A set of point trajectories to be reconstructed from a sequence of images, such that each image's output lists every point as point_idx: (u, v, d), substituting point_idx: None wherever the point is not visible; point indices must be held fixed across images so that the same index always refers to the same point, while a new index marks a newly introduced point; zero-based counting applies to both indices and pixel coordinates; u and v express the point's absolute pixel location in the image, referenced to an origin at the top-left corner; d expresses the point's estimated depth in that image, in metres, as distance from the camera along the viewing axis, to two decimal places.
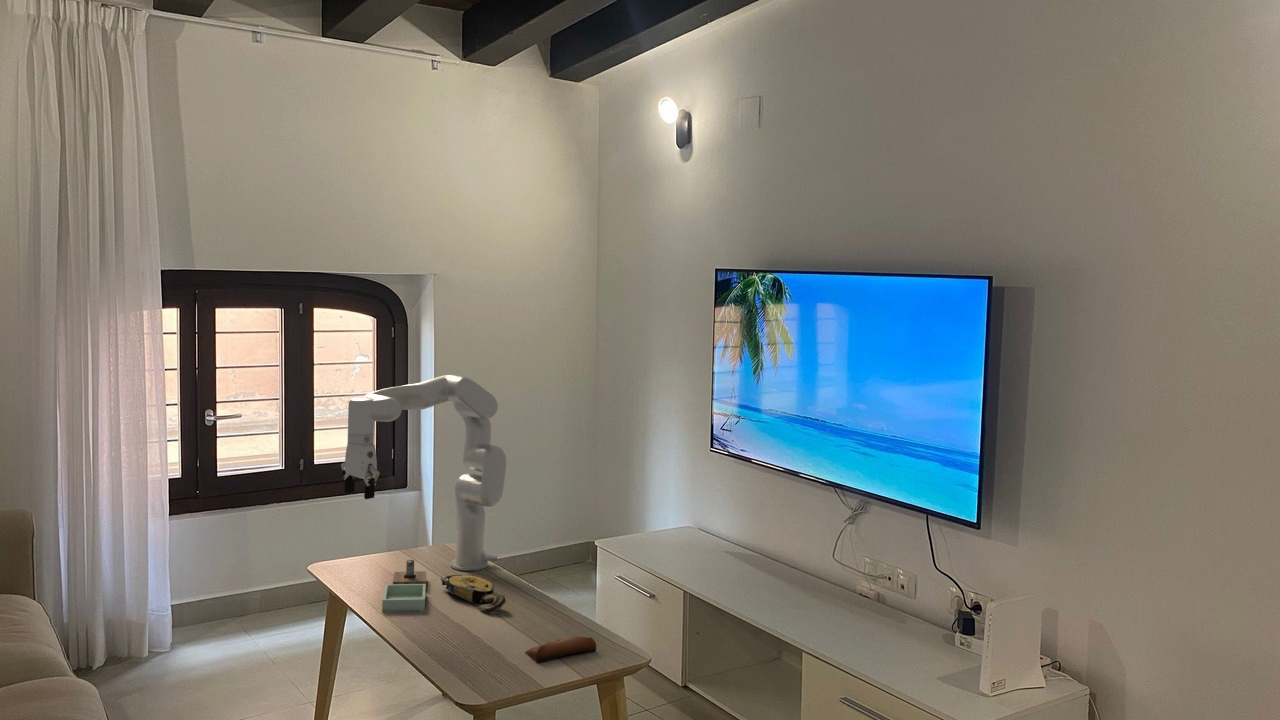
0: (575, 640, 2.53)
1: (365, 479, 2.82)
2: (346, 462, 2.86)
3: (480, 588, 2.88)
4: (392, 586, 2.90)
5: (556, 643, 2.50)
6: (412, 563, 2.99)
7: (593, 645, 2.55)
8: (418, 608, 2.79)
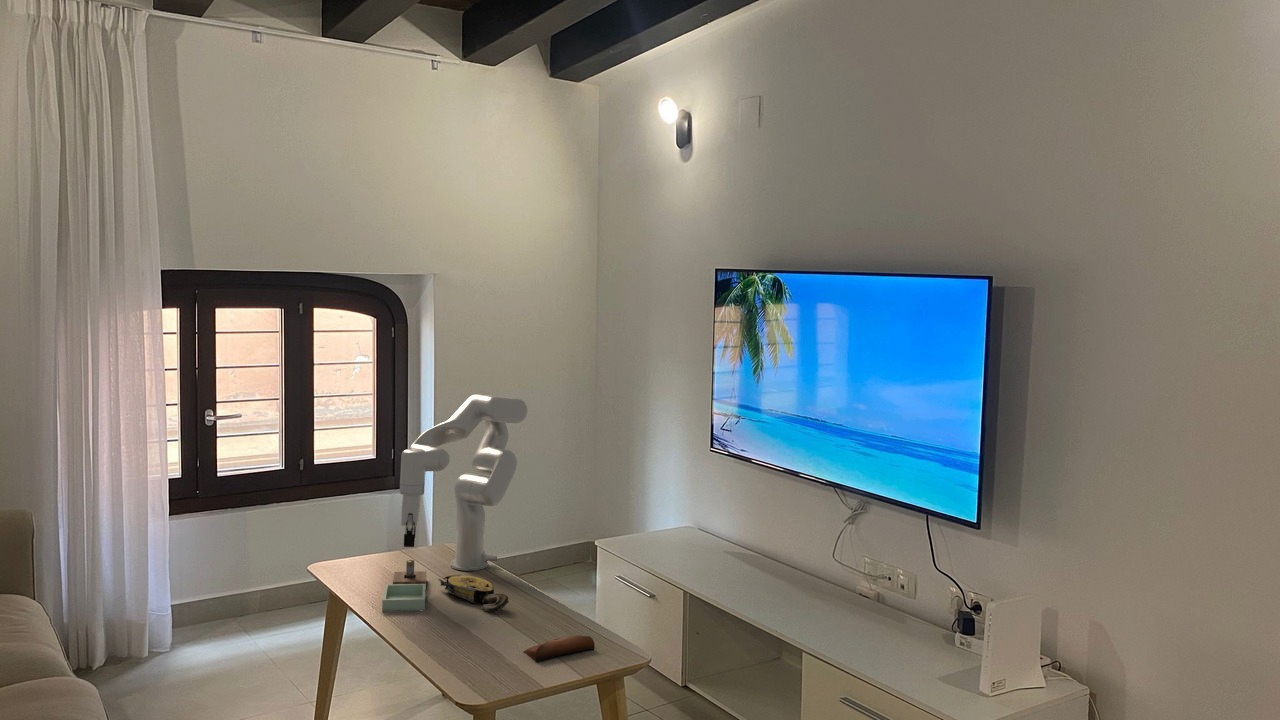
0: (573, 639, 2.54)
1: None
2: (417, 514, 2.95)
3: (481, 588, 2.88)
4: (392, 586, 2.90)
5: (555, 642, 2.51)
6: (412, 563, 2.99)
7: (591, 643, 2.56)
8: (418, 608, 2.79)
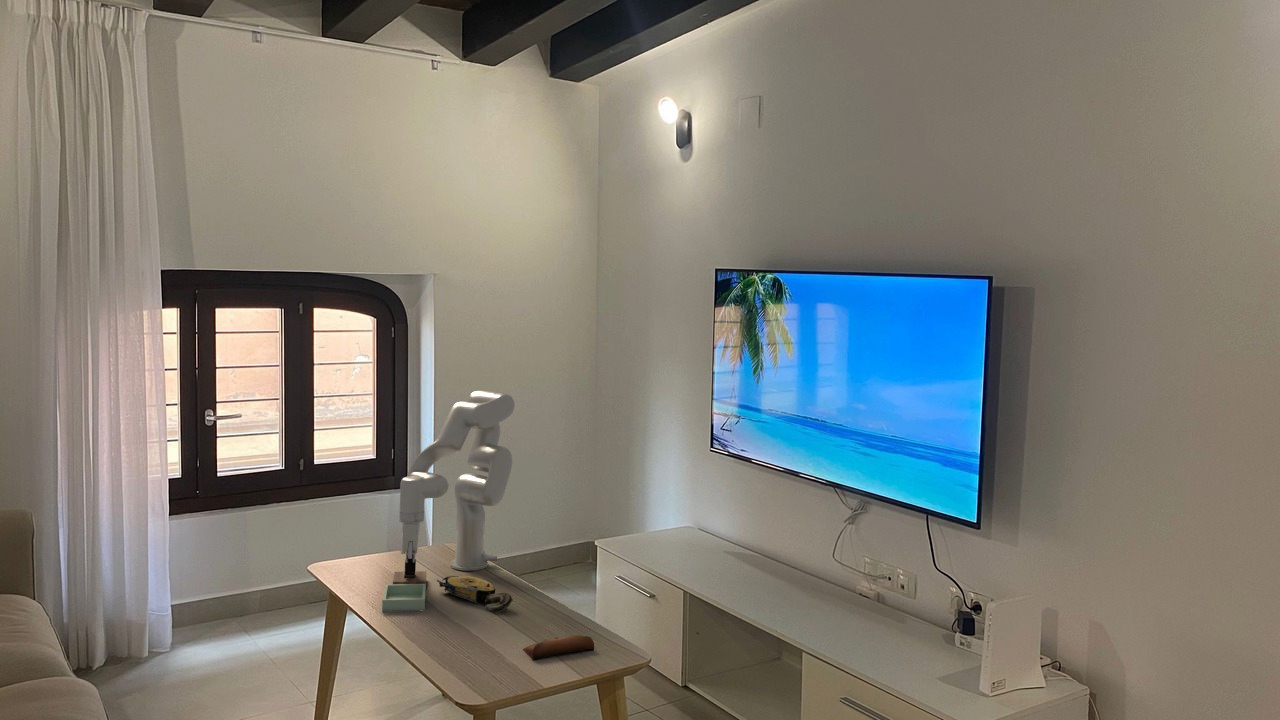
0: (573, 638, 2.54)
1: None
2: (417, 542, 2.96)
3: (483, 588, 2.89)
4: (392, 586, 2.90)
5: (553, 641, 2.52)
6: None
7: (591, 644, 2.55)
8: (418, 608, 2.79)
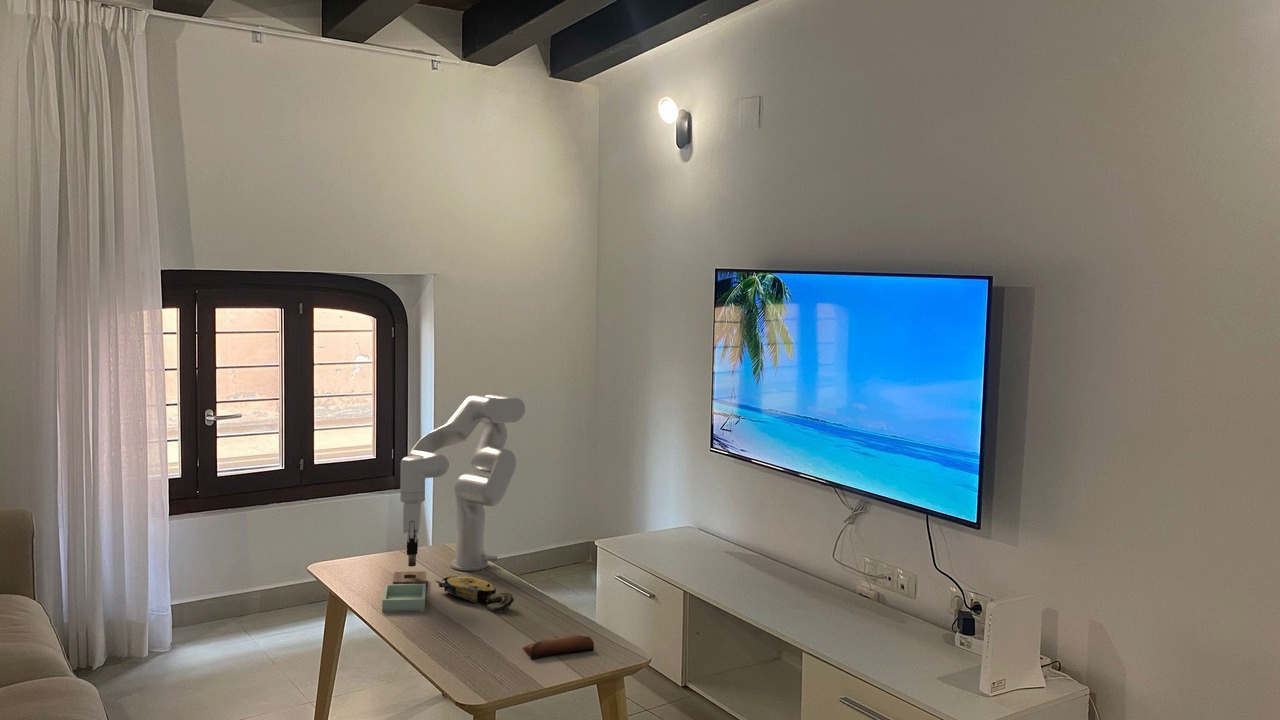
0: (572, 638, 2.54)
1: None
2: (419, 521, 2.96)
3: (484, 588, 2.89)
4: (392, 586, 2.90)
5: (552, 640, 2.52)
6: None
7: (590, 644, 2.55)
8: (418, 608, 2.79)
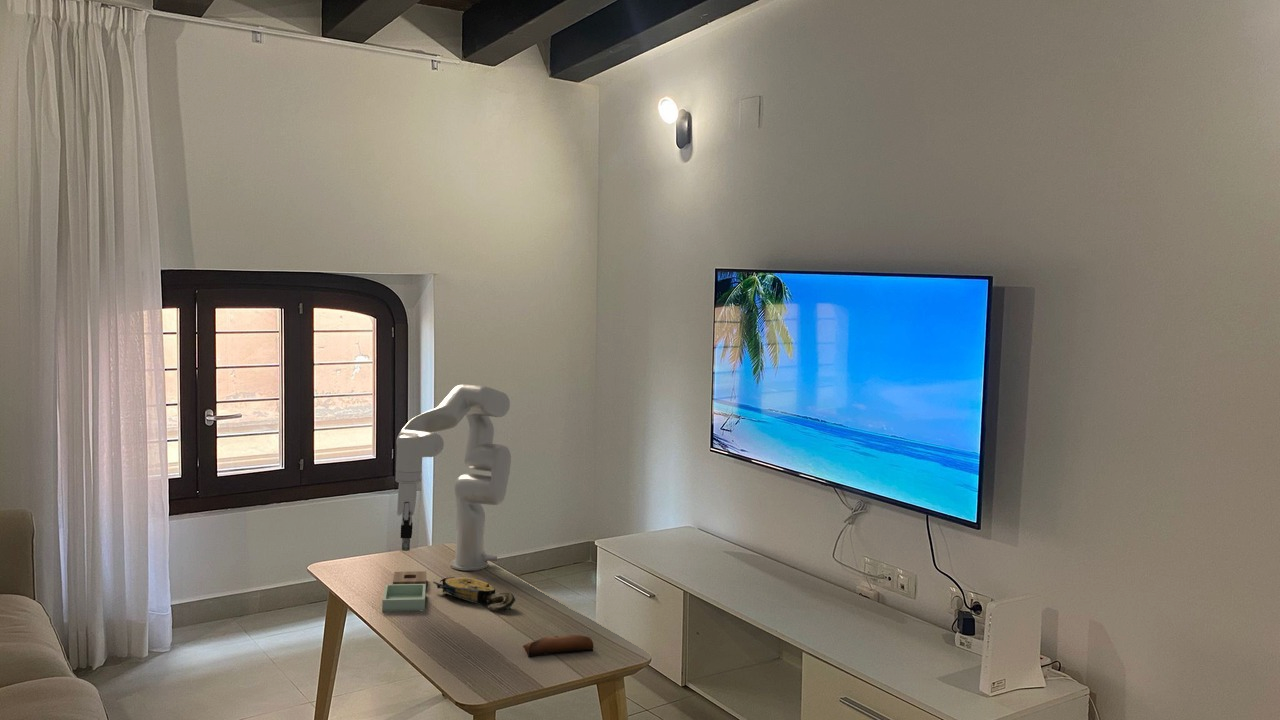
0: (571, 638, 2.55)
1: None
2: (414, 503, 2.82)
3: (483, 588, 2.88)
4: (392, 586, 2.90)
5: (551, 639, 2.53)
6: None
7: (590, 644, 2.55)
8: (418, 608, 2.79)
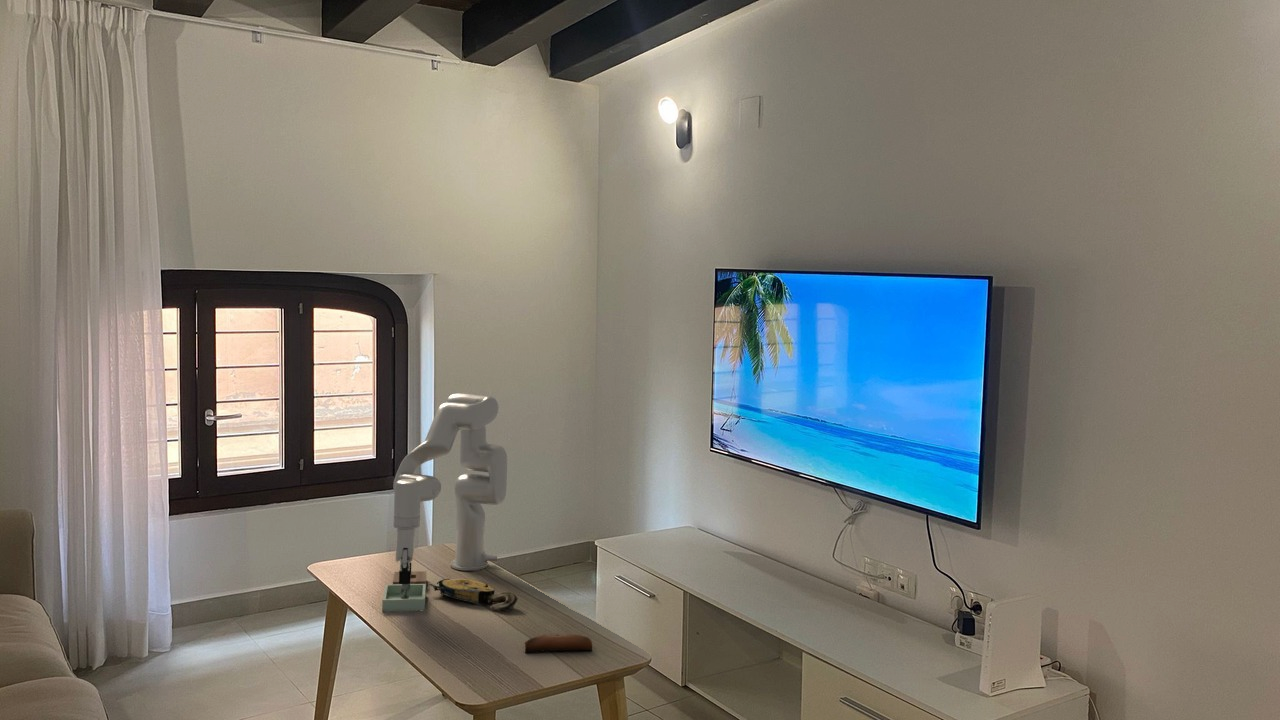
0: (570, 637, 2.55)
1: None
2: (413, 548, 2.80)
3: (483, 588, 2.88)
4: (392, 586, 2.90)
5: (550, 637, 2.54)
6: None
7: (588, 645, 2.54)
8: (418, 608, 2.79)
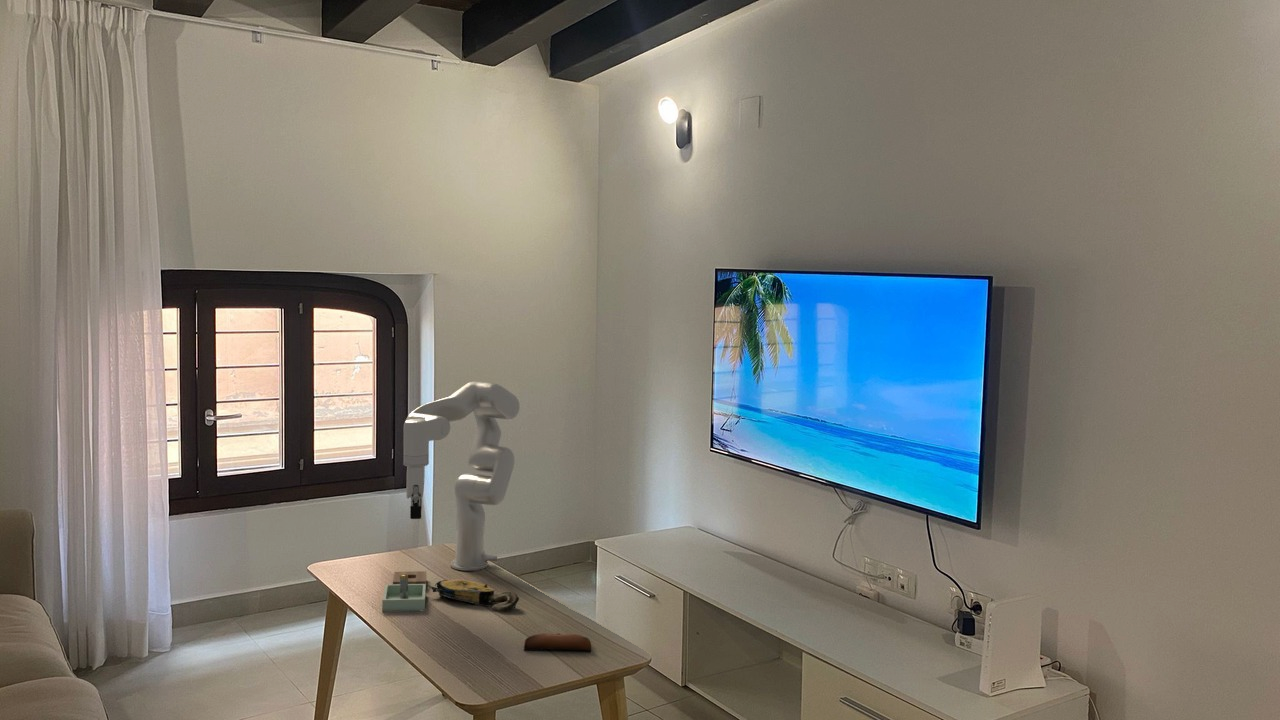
0: (570, 637, 2.55)
1: None
2: (423, 485, 2.88)
3: (483, 589, 2.88)
4: (392, 586, 2.90)
5: (549, 636, 2.55)
6: (406, 577, 2.83)
7: (587, 645, 2.54)
8: (418, 608, 2.79)
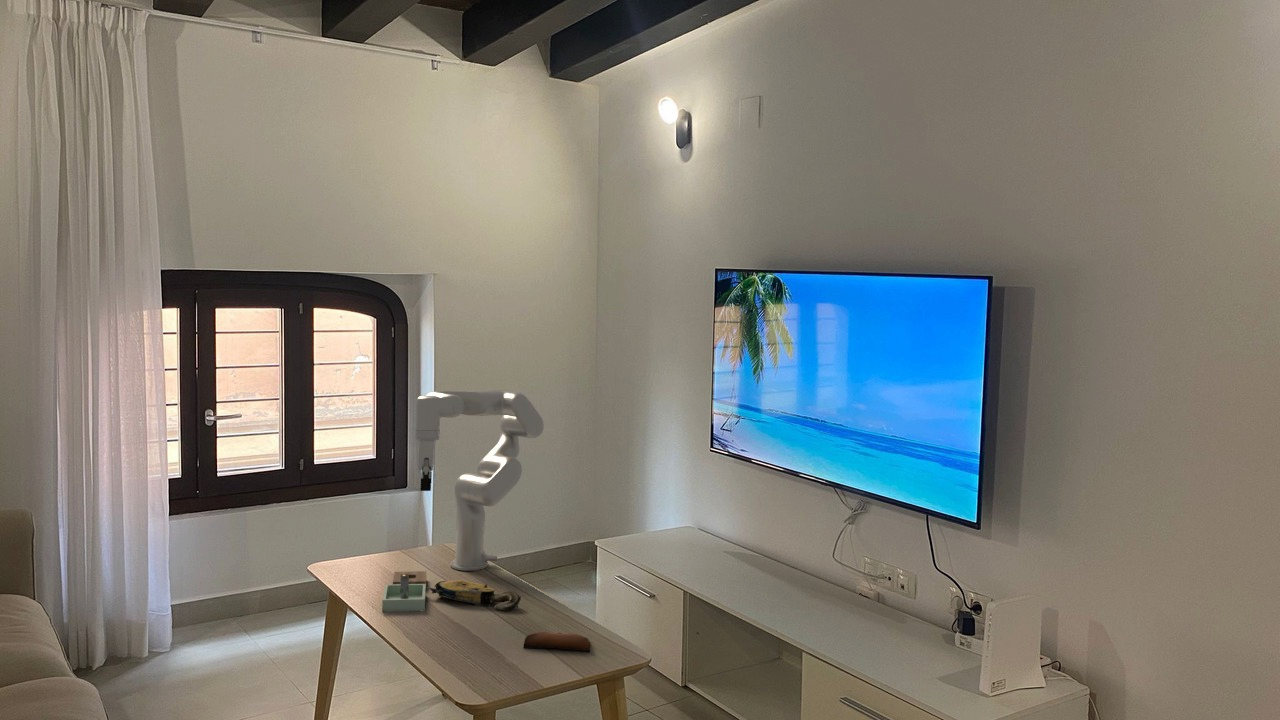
0: (570, 636, 2.56)
1: None
2: (433, 459, 3.01)
3: (484, 589, 2.88)
4: (392, 586, 2.90)
5: (549, 634, 2.56)
6: (406, 577, 2.83)
7: (586, 646, 2.54)
8: (418, 608, 2.79)
